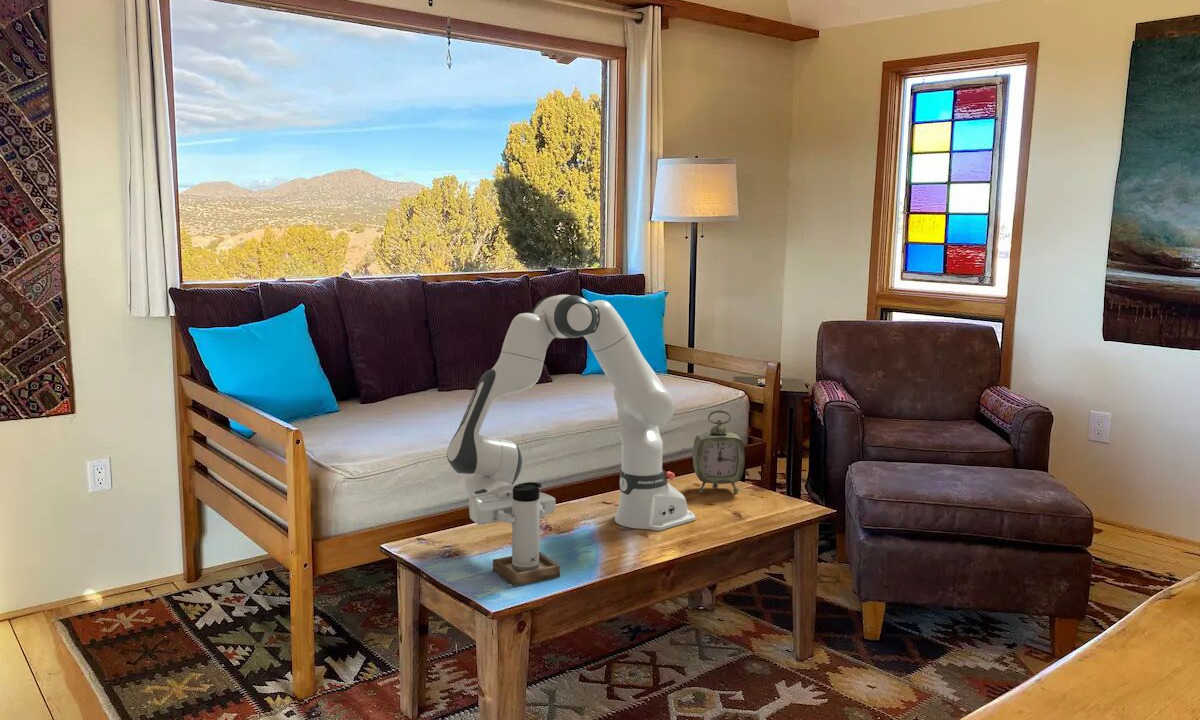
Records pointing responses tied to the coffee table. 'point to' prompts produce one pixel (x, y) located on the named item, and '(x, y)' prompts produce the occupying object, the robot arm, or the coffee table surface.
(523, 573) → the tray
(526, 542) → the travel mug
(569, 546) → the coffee table surface
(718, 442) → the tabletop clock
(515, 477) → the robot arm
